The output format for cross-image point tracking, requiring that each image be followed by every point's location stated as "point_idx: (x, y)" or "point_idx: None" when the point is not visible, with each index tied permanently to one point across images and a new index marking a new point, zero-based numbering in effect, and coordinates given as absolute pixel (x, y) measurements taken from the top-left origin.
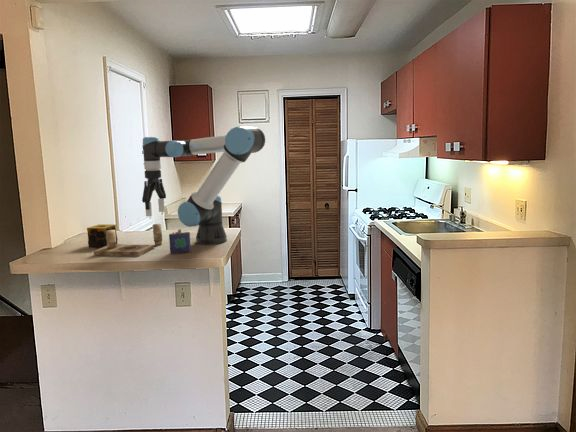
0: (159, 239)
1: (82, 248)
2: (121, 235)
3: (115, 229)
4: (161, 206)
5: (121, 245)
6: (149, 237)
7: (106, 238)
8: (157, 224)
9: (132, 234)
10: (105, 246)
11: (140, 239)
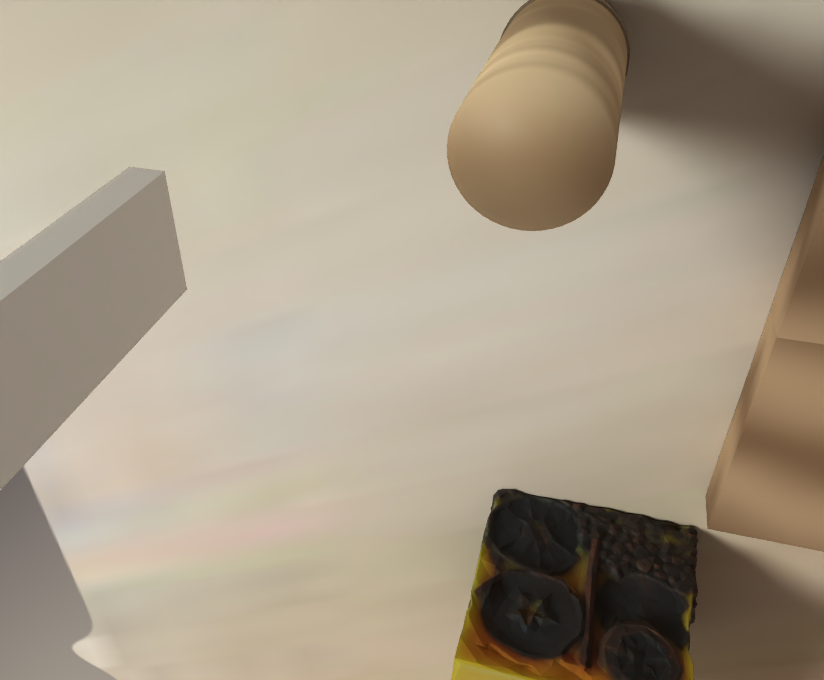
0: (613, 20)
1: None
2: (171, 526)
3: (474, 613)
4: (101, 293)
5: (808, 423)
6: (187, 291)
7: (668, 604)
8: (523, 145)
9: (114, 463)
10: (820, 547)
11: (290, 349)
